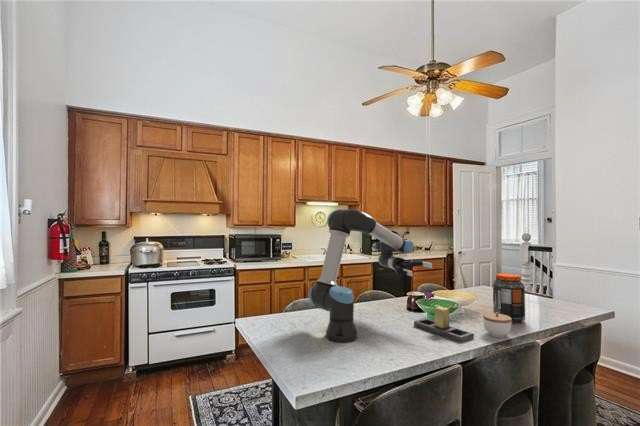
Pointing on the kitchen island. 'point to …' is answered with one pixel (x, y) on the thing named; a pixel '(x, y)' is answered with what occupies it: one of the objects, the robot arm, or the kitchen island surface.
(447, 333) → the dark grey slotted tray
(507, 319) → the lidded bowl
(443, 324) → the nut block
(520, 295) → the supplement tub
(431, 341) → the kitchen island surface
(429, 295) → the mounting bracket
